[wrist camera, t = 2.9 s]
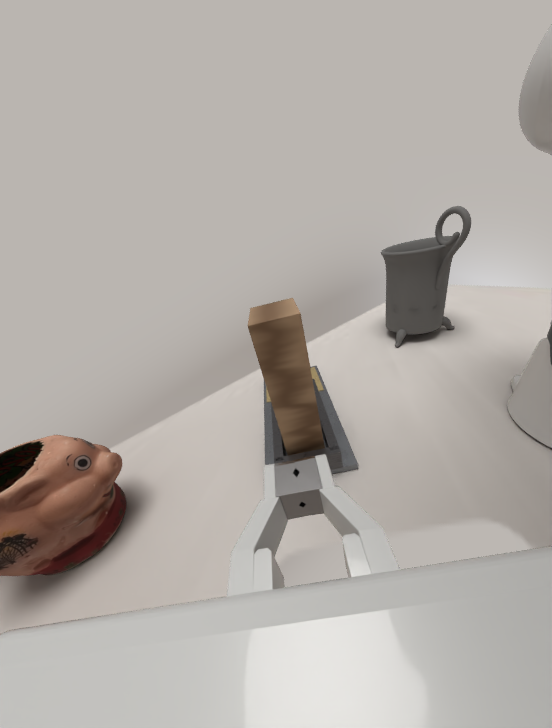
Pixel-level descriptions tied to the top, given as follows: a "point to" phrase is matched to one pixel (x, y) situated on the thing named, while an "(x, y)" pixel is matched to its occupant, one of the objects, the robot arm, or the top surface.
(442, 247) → the footed curly-handled cup
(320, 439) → the walnut block
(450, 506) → the top surface
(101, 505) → the decorative planter
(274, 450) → the steel chute
